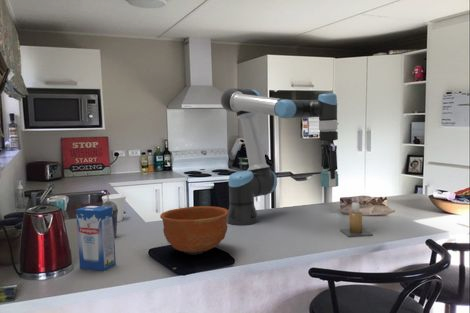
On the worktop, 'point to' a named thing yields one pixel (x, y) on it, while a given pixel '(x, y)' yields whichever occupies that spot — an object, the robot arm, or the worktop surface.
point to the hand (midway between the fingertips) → (329, 185)
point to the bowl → (195, 227)
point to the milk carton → (96, 237)
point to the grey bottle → (115, 212)
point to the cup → (117, 203)
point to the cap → (327, 178)
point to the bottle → (355, 223)
